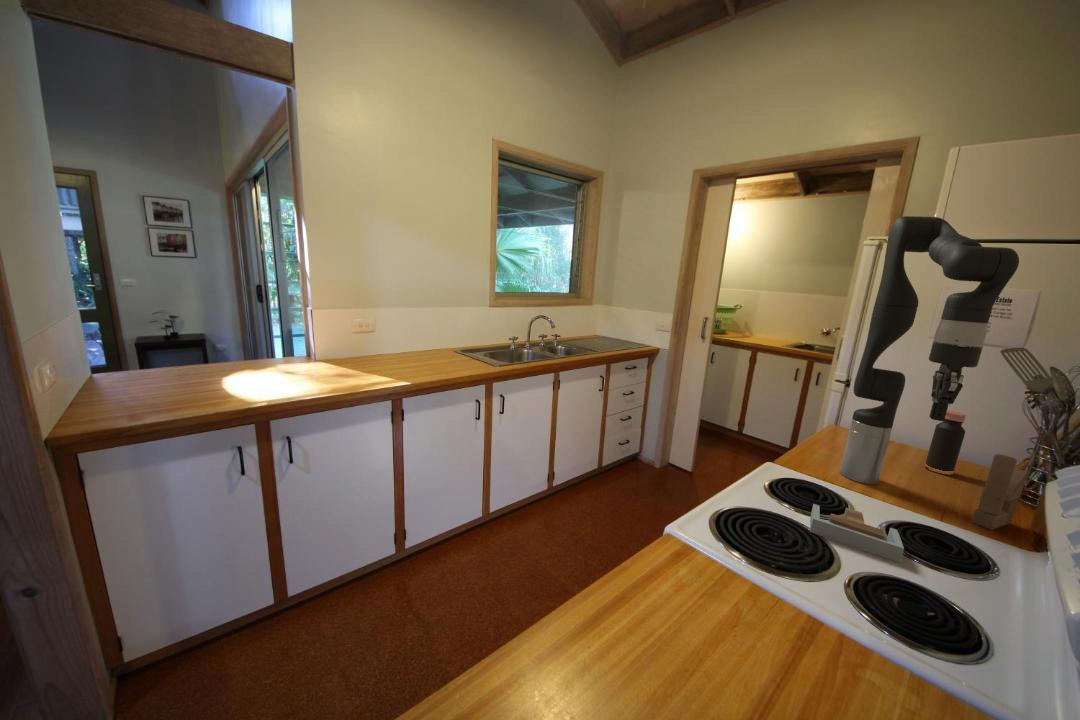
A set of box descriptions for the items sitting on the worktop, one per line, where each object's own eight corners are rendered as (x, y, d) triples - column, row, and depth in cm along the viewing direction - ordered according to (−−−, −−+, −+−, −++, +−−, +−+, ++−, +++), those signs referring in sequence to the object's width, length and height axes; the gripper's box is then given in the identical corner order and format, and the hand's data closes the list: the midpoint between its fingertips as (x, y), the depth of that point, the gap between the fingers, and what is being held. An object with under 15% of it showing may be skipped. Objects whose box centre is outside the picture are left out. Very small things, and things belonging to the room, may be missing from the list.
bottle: (927, 471, 131) (944, 412, 127) (921, 464, 137) (937, 408, 133) (956, 478, 127) (973, 418, 124) (948, 470, 133) (965, 413, 130)
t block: (826, 518, 95) (830, 502, 95) (874, 533, 90) (879, 517, 90) (827, 535, 88) (831, 519, 87) (879, 553, 83) (884, 536, 82)
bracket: (810, 516, 95) (813, 503, 95) (893, 543, 87) (897, 529, 87) (810, 531, 89) (813, 518, 88) (900, 562, 80) (904, 548, 80)
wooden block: (1011, 524, 101) (1033, 457, 97) (991, 531, 96) (1013, 461, 93) (990, 516, 104) (1011, 450, 101) (970, 522, 100) (991, 454, 96)
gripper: (927, 338, 93) (909, 409, 97) (940, 341, 83) (919, 421, 86) (973, 343, 89) (952, 417, 92) (993, 347, 79) (968, 431, 82)
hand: (936, 419), depth 89 cm, fingers closed
